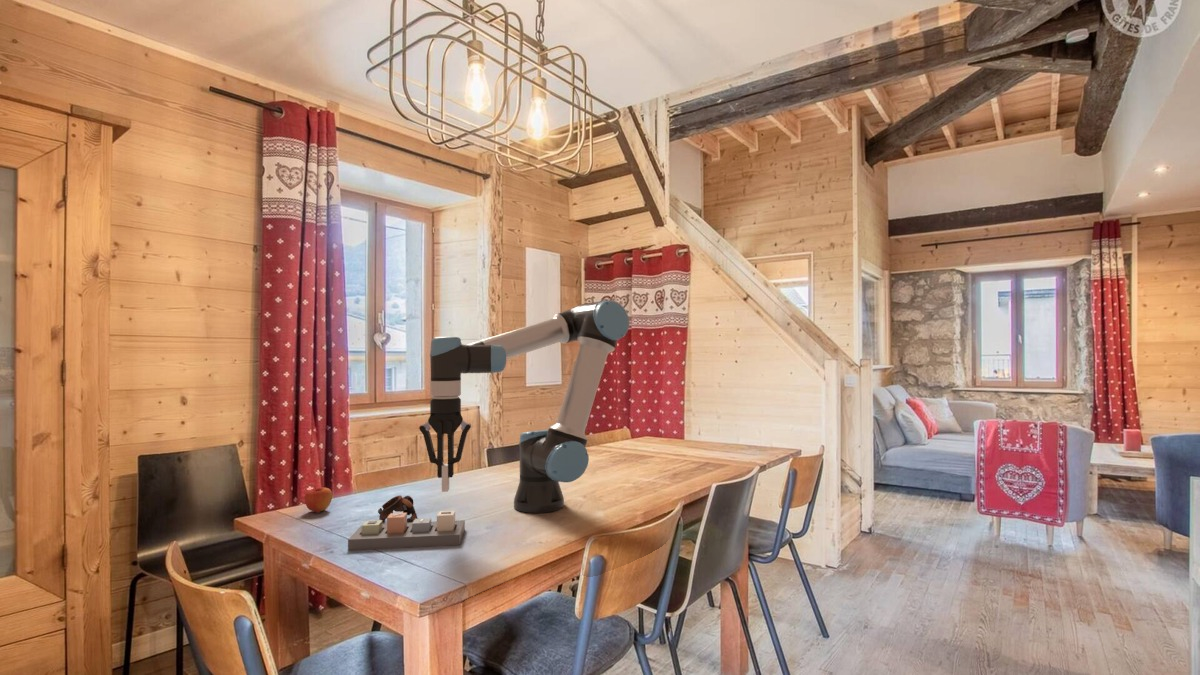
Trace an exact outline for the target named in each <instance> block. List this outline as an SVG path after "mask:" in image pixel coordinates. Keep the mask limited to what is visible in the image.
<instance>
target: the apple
mask: <svg viewBox="0 0 1200 675" xmlns="http://www.w3.org/2000/svg"><path fill="white" fill-rule="evenodd" d="M332 499H333V492H332V490H331V489H330V488H328V487H321V486H320V487H316V485H314V488H311V489H309V490H307V491H306V492H305V495H304V504H305V506H306V508H307V509H308V510H310V511H311V512H313V513H317V514H318V513H321V512H324V511H326V510H327V509H328V508H329V506H330V504H331V502H332Z"/></svg>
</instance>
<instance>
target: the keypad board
mask: <svg viewBox="0 0 1200 675" xmlns="http://www.w3.org/2000/svg"><path fill="white" fill-rule="evenodd" d="M412 523H413V522H412V521H411V522H407V529H406V531H405V532H404V533H387V523H383V531H382V532H381V533H380V534H363V535H362V525H363V524H361V525H360V527H359V528H357V530H356V531H355V532H354V533H352V534H351V536H350V537H349V538H348V539H347V551H358V550H362V551H363V550H380V549H381V550H382V549H400V548H401V549H402V548H403V549H404V548H425V547H426V548H427V547H443V546H444V547H445V546H461V542H462V538H463V535H464V533H465V530H466V529H465V528H466V525H465V524H466V520H464V519H463V520H455V528H454V530H453V531H437V520H436V521H431V531H430V532H412Z"/></svg>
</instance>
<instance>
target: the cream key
mask: <svg viewBox="0 0 1200 675" xmlns="http://www.w3.org/2000/svg"><path fill="white" fill-rule="evenodd" d="M436 521H437V531H453V530H454V528H455V521H456V510H442V511H441V510H440V511H439V510H438V513H437V515H436Z"/></svg>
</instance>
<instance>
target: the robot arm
mask: <svg viewBox="0 0 1200 675" xmlns="http://www.w3.org/2000/svg"><path fill="white" fill-rule="evenodd" d="M629 318H630V317H629V315H628V313H627V310H626V308H624V306H623V305H622V304H620V303H619V302H618V301H615V300H607V299H604V300H599V301H595V302H587V303H581V304H579V305H576V306H574V307H572V308H570V309H567V310H564V311H562V312H559V313H556V314H553V316H552V318H550V319H546V320H544V321H540V322H537V323H534V324H529V325H526V326H523V327H520V328H517V329H515V330H511V331H508V332H507V331H506V332H504V333H500V334H497V335H494V336H491V337H488V338H484V339H480V340H478V341H474V342H471V343H467V344H462V339H461V337H458V336H435V337H433V338H432V339H431V341H430V354H429V357H430V384H429V385H430V389H429V390H430V392H429V394H430V395H429V396H431V397H432V398H431V399H430V400H429V404H430V406H429V408H430V409H429V410H430V414H429V417H428V420H427V422H425V423H424V424H422V425H421V424H420V426H419V427H418V429H419V431H420V432H421V433H422V435H423V438H424V443H425V446H426V451H427V454H428V459H429V463H431V464H435V465H436V466H437V470H436V471H437V478H439V479H441V493H443V492H445V493H446V492H449V490H450V478H453V477H454V472H455V471H454V470H455V468H454V467H455V466H454V464H456V463H459V462H460V461H461V460H462V455H463V452H464V447H465V443H466V440H467V435H468V433H469V431H470V430H471V429H472V424H471V423H469V422H468V423H467V422H466V421H464V419H463V416H462V410H461V409H462V399H461V398H460V396H461V395H462V391H461V390H462V388H461V387H462V382H461V381H462V374H493V373H494V374H495V373H501V372H503V371H504V370H505V368H506V365H507V360H508V359H511V358H514V357H518V356H520V355H524V354H527V353H529V352H533V351H536V350H539V349H542V348H545V347H549V346H551V345H555V344H558V343H560V344H563V345H565V344H568V343H571V342H578V343H579V348H578V353H577V355H576V358H575V362H574V364H573V368H572V371H571V375H570V378H569V381H568V383H567V384H568V385H567V387H566V390H565V394H564V397H563V400H562V404H561V406H560V409H559V413H558V416H557V419H556V422H555V423H554V424H552V425H551V426H549V428H548V429H543V430H531V431H523V432H522V433H521V434H520V436H519V443H518V447H519V482H518V485H517V488H516V489H517V490H516V491H515V495H514V498H513V509H515V510H516V511H519V512H522V513H529V514H531V513H533V514H539V513H543V514H544V513H551V512H557V511H559V510H561V509H562V508H564V506H565V497H564V495H563V491H562V488H561V486H560V483H571V482H575V481H576V480H578V479H579V478H581V477H582V475H584V474H585V472H586V470H587V468H588V466H589V461H590V460H589V459H590V458H589V456H590V455H589V453H588V450H587V448H586V447H587V444H588V437H587V435H586V432H585V431H586V428H587V425H588V421H589V418H590V414H591V412H592V407H593V406H594V401H595V398H596V394H597V391H598V388H599V385H600V382H601V379H602V378H601V377H602V375H603V372H604V369H605V364H606V363H607V360H608V359H607V358H608V355H609V354H611V353H612V352H614V351H615V350H616V347H617V342H618V340H621V339H622V338H623V337H625V336H626V334H627V333H628V331H629V327H630V319H629ZM460 426H461V427H460ZM459 427H460V430H461V431H462V432H461V434H460V437H459V441H458V447H457V450H456V455H455V449H454V448H455V446H454V445H455V432H456V431H457V430H458V428H459ZM431 429H432V430H433V431H434V432H435V433H436V441H437V443H436V444H437V446H436V449H437V451H436V452H437V454H436V452H435V448H434V444H433V439H432V436H431V432H430V430H431ZM445 435H446V436H447V463H444V462H445V461H444V445H445V444H444V440H445V438H444V436H445ZM436 455H437V456H436Z"/></svg>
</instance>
